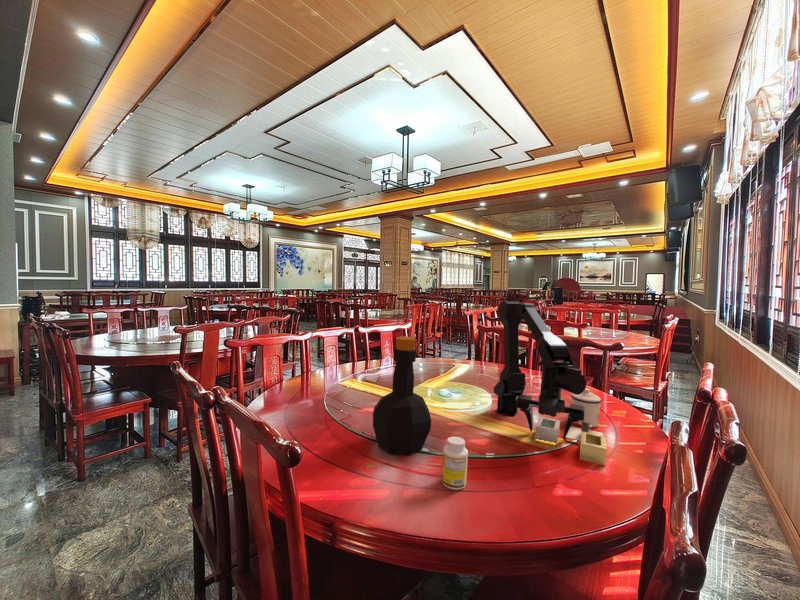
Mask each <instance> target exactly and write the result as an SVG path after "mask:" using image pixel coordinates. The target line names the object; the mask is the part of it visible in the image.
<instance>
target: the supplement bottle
mask: <svg viewBox="0 0 800 600" xmlns="http://www.w3.org/2000/svg"><path fill="white" fill-rule="evenodd" d="M442 450H443V451H442V466H441V467H442V470H441V471H442V472H441V482H442V484H443V486H444V487H446V488H448V489H450V490H453V491H454V490H455V491H459V490H463V489H464V488H465V487H466V485H467V480H468V479H467V475H468V474H467V473H468V460H469V459H468V457H469V451H468V449H467V448H466V441H465V439H464V438H462V437H458V436H450V437H448V438H447V441H446V445H445V446H444V447H443V449H442Z"/></svg>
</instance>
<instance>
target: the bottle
mask: <svg viewBox="0 0 800 600" xmlns="http://www.w3.org/2000/svg"><path fill="white" fill-rule="evenodd" d="M415 344H416V337H415V336H414V337H413V336H405V335H400V336H396V337H395V345H396V347H395V348H393V357H392V358H393V361H395V363H394V364H395V365H394V370H393V373H392V375H393V376H392V391H391V392H389V393H387V394H385V395H383V396H381V397H380V399H379V400H378V402H377V403H376V404H375V405H374V407H373V413H372V429H373V432H374V435H375V438H376V442H377V445H378V449H379V450H382V451H383V452H385V453H387V454H389V455H394V456H395V455H396V456H410V455H413V454H415V453H418V452H420V451H422V450H423V448H424V445H425V443H426V440H427V438H428V436H429V433H430V431H431V428H432V427H431V426H432V417H431V414H430V410H429V408H428V406H427V403H426V401H425V399H424V397H423V396H421V395H419V394H417V393H415V392H414V385H415V374H414V372H415V371H414V363H415V362H416V361H417V360H416V359H417V350H416V348H415Z"/></svg>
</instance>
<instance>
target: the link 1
mask: <svg viewBox="0 0 800 600" xmlns="http://www.w3.org/2000/svg"><path fill="white" fill-rule="evenodd" d="M560 425H561V420H558V419H553V418H549V417H544V416H539V417H538V420H537V422H536V424H535V431H534V433H535V434H534V440H535V439H539V440H544V441H549V442H554V443H557V444H558V442H557V441H559V438H558V436H559V437H560V429H561V427H560Z"/></svg>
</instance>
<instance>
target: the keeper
mask: <svg viewBox="0 0 800 600" xmlns="http://www.w3.org/2000/svg"><path fill="white" fill-rule="evenodd" d="M589 424H590V423H589V422H587V421H582V426H581V427H575V426H571V427H570V429H569V431H568V433H567V435H566V437H565V439H566V438H569V439H575V440H577V443H576V444H578V445H580V444H581V432H582V431H583V432H587V433H592V434H597V435H601V436H604V433H603V432H599V431H596V430H595V431H594V430H590V427H589Z"/></svg>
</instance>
